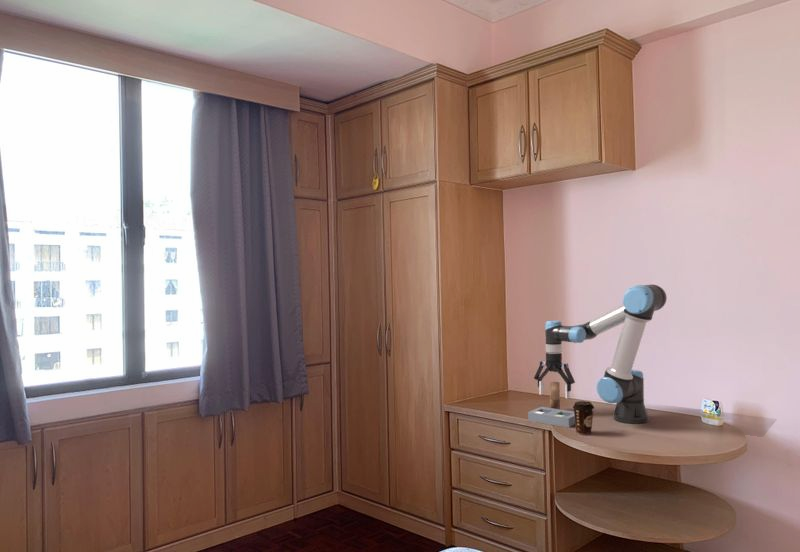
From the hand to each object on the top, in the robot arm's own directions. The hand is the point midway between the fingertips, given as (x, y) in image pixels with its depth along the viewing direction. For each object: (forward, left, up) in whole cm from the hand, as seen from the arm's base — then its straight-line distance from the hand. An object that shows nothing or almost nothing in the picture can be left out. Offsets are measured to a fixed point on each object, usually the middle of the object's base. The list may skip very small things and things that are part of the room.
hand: (554, 396), depth 281 cm
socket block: (-6, +13, -8) cm, 17 cm away
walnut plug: (0, 0, -9) cm, 9 cm away
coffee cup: (-25, +24, -9) cm, 36 cm away
